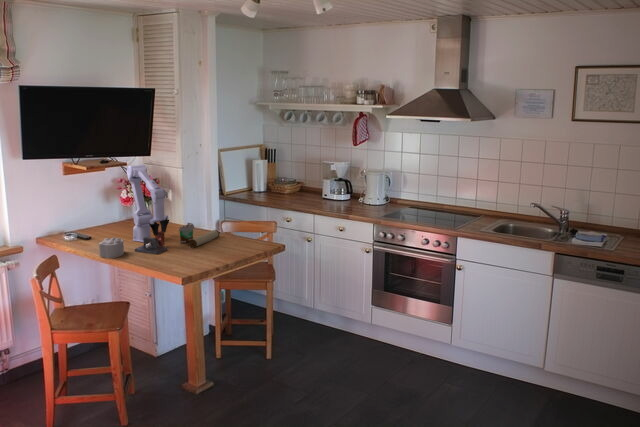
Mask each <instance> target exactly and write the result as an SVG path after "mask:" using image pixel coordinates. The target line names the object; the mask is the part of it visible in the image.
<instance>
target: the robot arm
mask: <svg viewBox="0 0 640 427" xmlns="http://www.w3.org/2000/svg"><path fill="white" fill-rule="evenodd" d="M126 175H127V179H128V181H129V182H130V185H131V189H132V193H133V198H134V202H135V206H136V211H134V213H133V224H135V225H134V226H133V228H132V234H133V235H132V236H133V239H132V241H133V242H138V243H139V242H141V243H144V241H143V238H145V237H148V238H152V237H151V236H152V235H151V230H152V233H153V236H154V237H155V236H157V235H158V230H159V227H161V228H160V231H164V234H165V233H166V232H167V228H168V225H169V222H170V219H169V215H167V214H166V215H165V198H166V196H167V193H166V190H165V188H163V187H160V186H159V184H158V183H157V182H156V180H154V179H152V178H151V177H150V176H149V173H148V168H147V166H146V165H145V164H137V165H128V166H127V168H126ZM142 181H143V182H144V183H145V188H147V190H148V191H149V192H150V198H151V202H152V205H153V215H152V211H151V210H150V209H148V208H147V207H146V203H145V197H144V194H143V189H142V188H143V187H142V186H141V185H142V184H141V182H142ZM158 222H159V223H158Z"/></svg>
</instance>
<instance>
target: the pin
mask: <svg viewBox="0 0 640 427" xmlns="http://www.w3.org/2000/svg"><path fill="white" fill-rule="evenodd" d="M154 238H156V239H158V246H162V247H164V246H165V244H166V243H165V241H166V240H165V233H164V231H161V230H159V229H158V235H157V236H155V235H154ZM150 246H152V243H151V242H150V243H149V244H147V245H146V248H148V247H150Z"/></svg>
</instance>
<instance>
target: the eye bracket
mask: <svg viewBox="0 0 640 427" xmlns="http://www.w3.org/2000/svg"><path fill="white" fill-rule="evenodd" d="M143 241H144V242H143V245H141V246H138V247H135V248H134V252H136V253H142V254H150V255H158V254H161V253H163V252H165V251H168V247H167V246H158V239H156V238H155V237H154V238H153V237H151V238H148V237H145V238H143ZM149 243H152V246H150V247H148V248H146V245H147V244H149Z"/></svg>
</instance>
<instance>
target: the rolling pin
mask: <svg viewBox="0 0 640 427" xmlns="http://www.w3.org/2000/svg"><path fill="white" fill-rule="evenodd" d="M220 235H221V232H220V231H219V230H217V229H213V230H211V231H208V232H206V233H204V234H202V235H200V236H198V237H195V238H194V237H193V239H191V240H190V242H189V243H187V247H190V248H194V249H195V248H197V247H198V246H202V245H204V244H206V243H208V242H210V241H212V240H214V239H217V238H219V237H220Z"/></svg>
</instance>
